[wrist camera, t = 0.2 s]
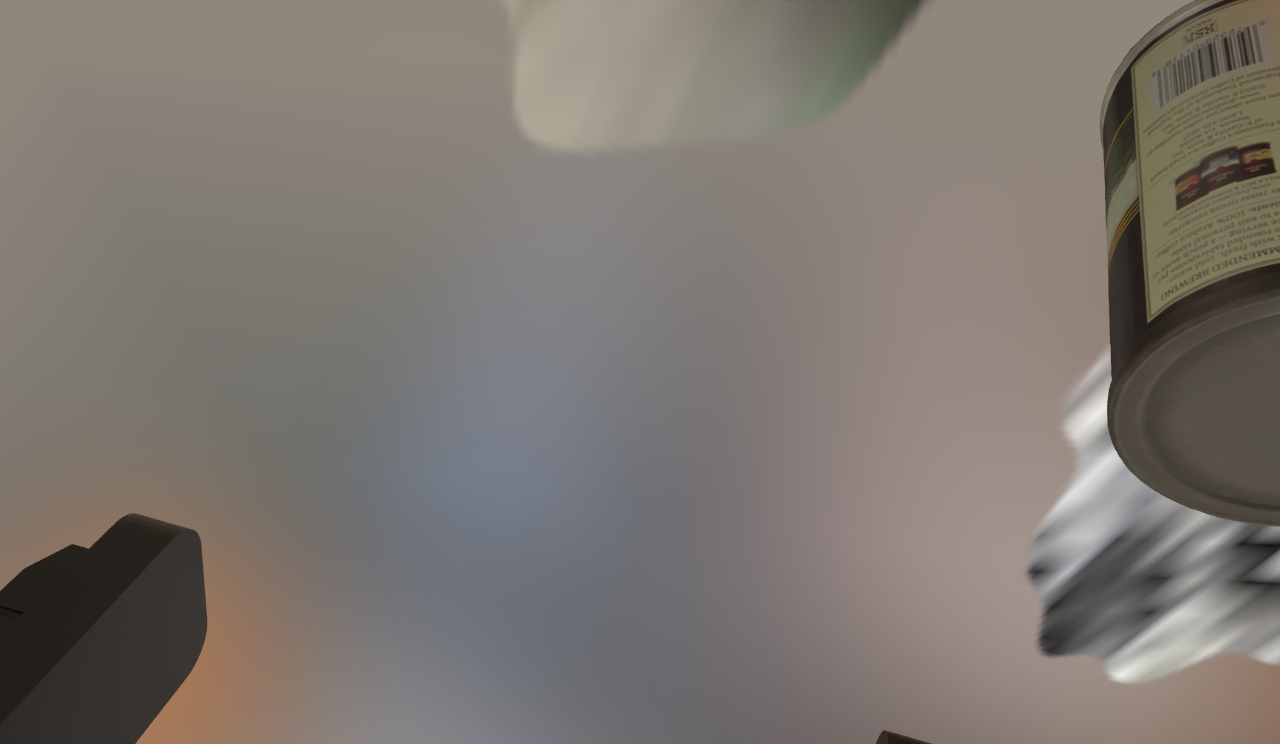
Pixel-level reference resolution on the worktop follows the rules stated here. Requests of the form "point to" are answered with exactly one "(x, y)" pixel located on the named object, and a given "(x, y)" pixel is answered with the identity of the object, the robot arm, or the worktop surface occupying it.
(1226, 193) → the coffee can
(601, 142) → the worktop surface
